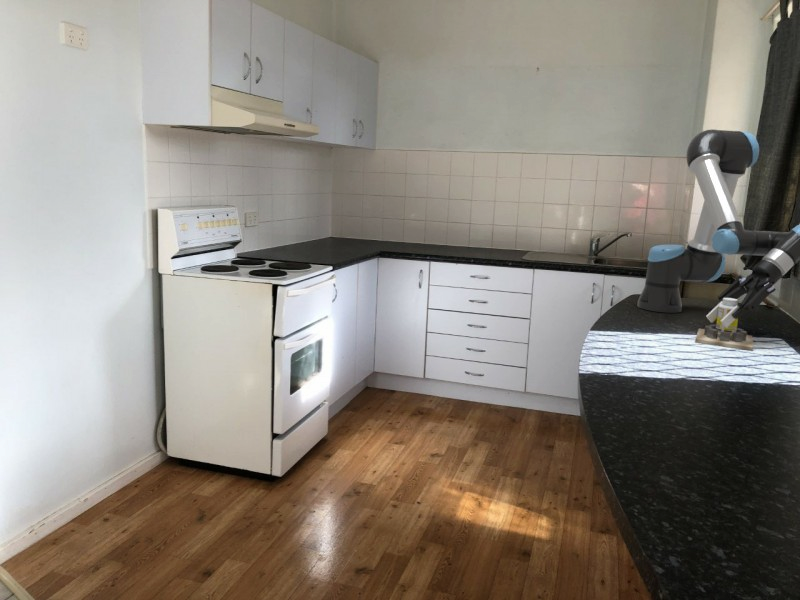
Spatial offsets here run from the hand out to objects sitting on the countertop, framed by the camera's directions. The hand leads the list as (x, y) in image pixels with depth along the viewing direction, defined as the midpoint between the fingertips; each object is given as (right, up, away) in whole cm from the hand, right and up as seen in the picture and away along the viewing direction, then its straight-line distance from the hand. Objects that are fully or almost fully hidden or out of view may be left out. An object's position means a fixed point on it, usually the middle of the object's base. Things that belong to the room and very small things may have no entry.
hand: (716, 321), depth 197 cm
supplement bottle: (+3, -4, +2) cm, 5 cm away
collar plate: (+3, -6, +2) cm, 7 cm away
